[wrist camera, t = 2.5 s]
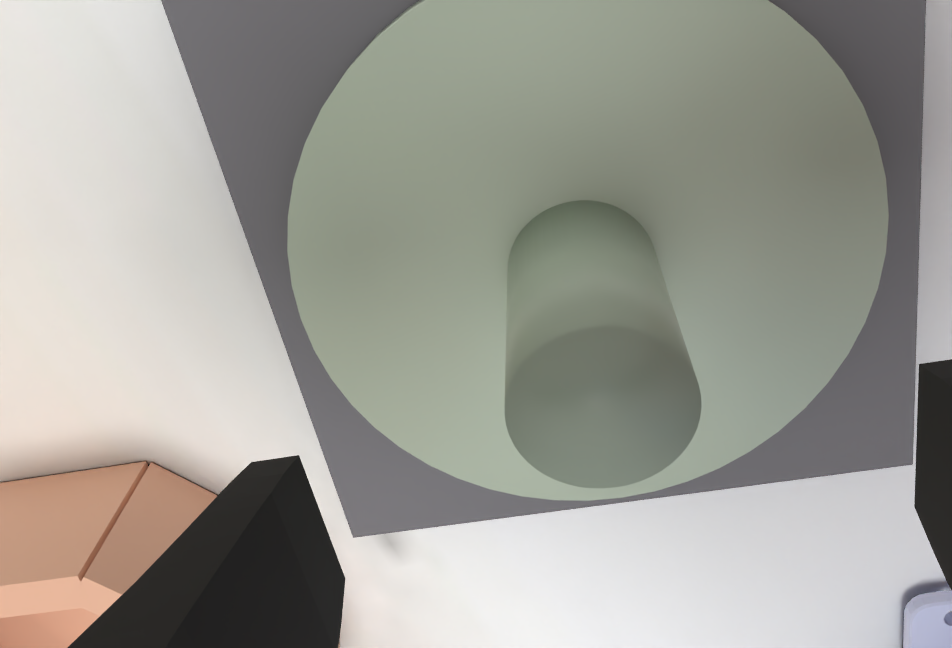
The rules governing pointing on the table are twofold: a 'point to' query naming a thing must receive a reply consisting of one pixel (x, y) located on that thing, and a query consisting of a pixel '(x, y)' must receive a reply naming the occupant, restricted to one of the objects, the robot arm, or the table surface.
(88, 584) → the bowl
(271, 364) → the table surface
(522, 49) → the lid
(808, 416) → the mat
